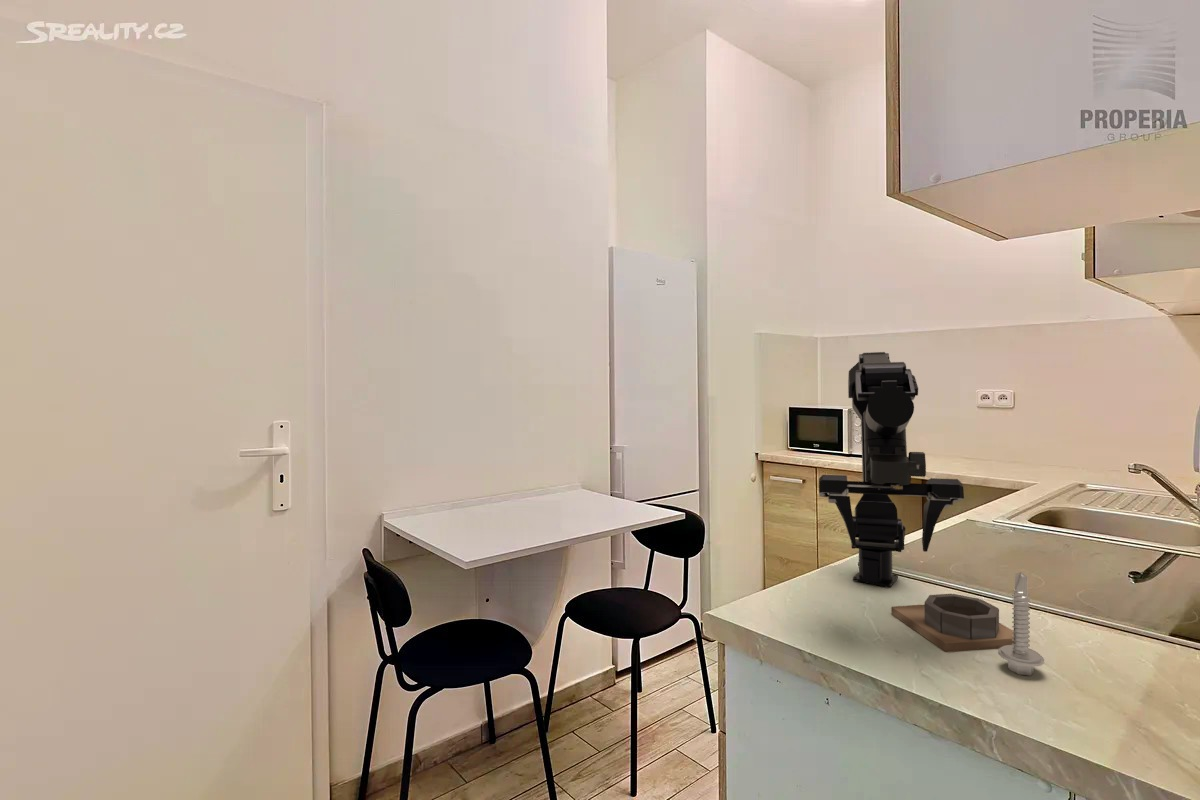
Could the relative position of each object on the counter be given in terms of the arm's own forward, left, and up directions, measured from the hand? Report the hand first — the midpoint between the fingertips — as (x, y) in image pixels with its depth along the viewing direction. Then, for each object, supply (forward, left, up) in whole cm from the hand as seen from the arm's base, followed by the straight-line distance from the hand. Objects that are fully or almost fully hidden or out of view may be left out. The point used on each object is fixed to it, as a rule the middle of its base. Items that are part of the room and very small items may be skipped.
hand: (888, 548), depth 84 cm
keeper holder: (-10, +6, -14) cm, 19 cm away
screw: (-2, +15, -14) cm, 21 cm away
